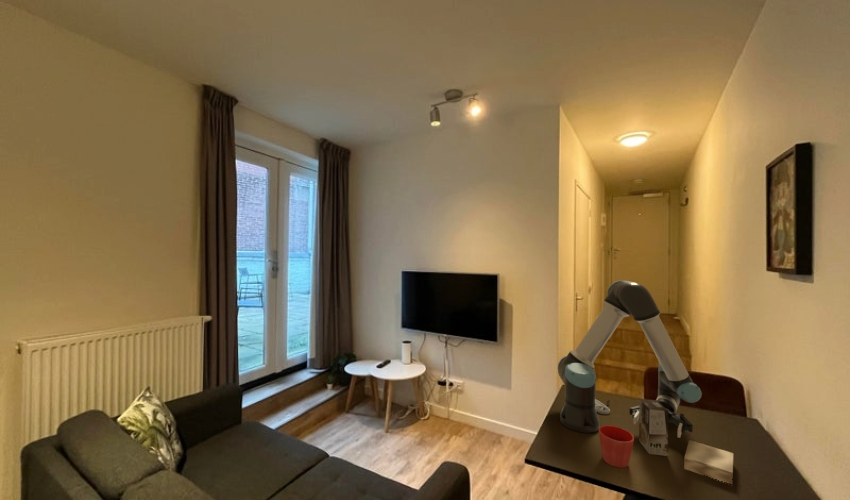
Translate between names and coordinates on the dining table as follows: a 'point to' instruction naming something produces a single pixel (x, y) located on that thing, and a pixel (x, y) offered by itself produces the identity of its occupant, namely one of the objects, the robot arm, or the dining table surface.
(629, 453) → the flower pot
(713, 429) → the dining table surface
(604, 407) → the game controller
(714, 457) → the stand
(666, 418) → the coffee box
